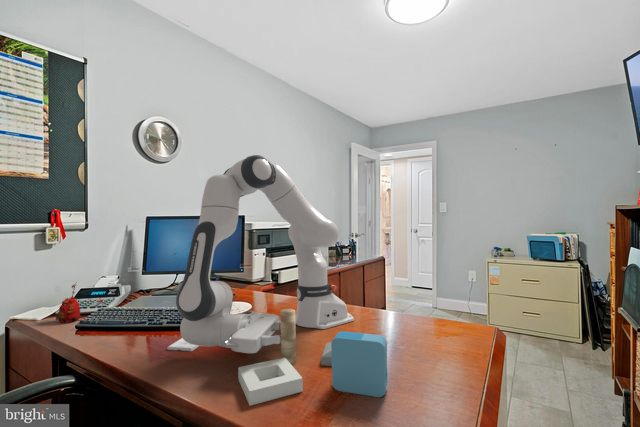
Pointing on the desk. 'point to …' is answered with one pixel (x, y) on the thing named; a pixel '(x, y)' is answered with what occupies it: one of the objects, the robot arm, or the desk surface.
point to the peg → (288, 335)
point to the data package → (359, 363)
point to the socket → (269, 380)
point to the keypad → (327, 355)
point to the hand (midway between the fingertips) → (285, 332)
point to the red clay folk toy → (69, 309)
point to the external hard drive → (182, 346)
